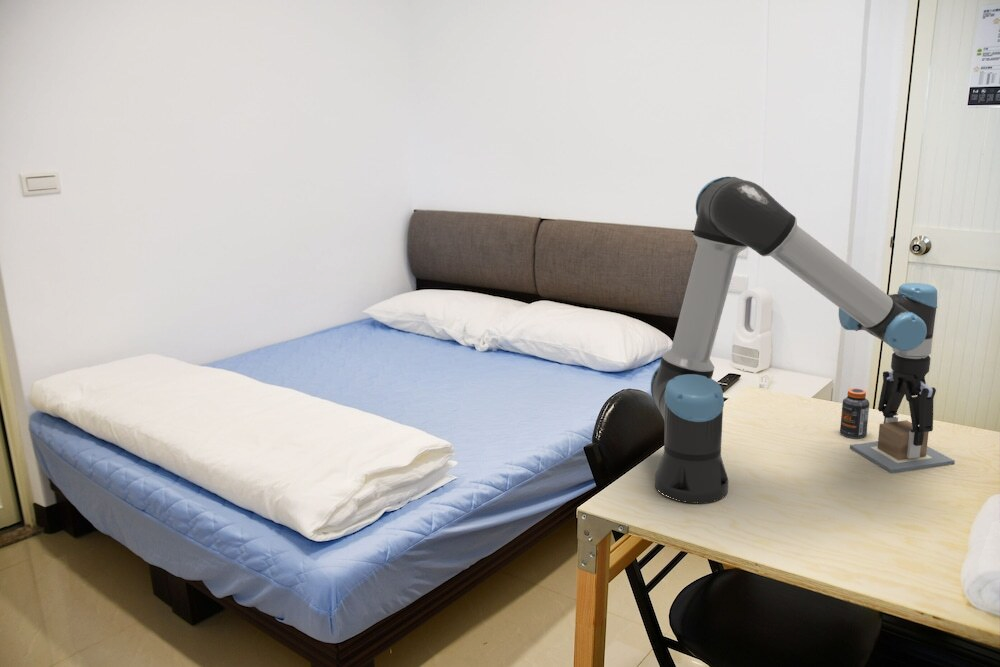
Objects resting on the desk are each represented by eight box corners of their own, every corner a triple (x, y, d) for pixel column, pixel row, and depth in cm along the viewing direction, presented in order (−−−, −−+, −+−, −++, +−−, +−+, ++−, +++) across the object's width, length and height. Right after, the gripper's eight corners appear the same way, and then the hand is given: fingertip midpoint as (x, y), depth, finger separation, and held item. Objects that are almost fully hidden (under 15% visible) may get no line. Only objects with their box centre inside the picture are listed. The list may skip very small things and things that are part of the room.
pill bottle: (834, 432, 191) (838, 388, 188) (851, 427, 194) (855, 384, 191) (854, 440, 186) (858, 396, 183) (872, 435, 188) (876, 391, 186)
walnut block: (898, 460, 173) (901, 435, 171) (877, 448, 180) (879, 423, 178) (926, 456, 174) (928, 431, 173) (903, 444, 181) (906, 420, 179)
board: (891, 473, 169) (891, 469, 169) (849, 448, 182) (850, 444, 182) (954, 463, 172) (954, 460, 172) (909, 440, 185) (909, 436, 185)
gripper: (961, 365, 162) (948, 466, 168) (894, 340, 181) (885, 432, 187) (930, 368, 161) (918, 470, 167) (866, 343, 179) (857, 436, 185)
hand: (900, 450), depth 177 cm, fingers closed on walnut block, 7 cm apart
